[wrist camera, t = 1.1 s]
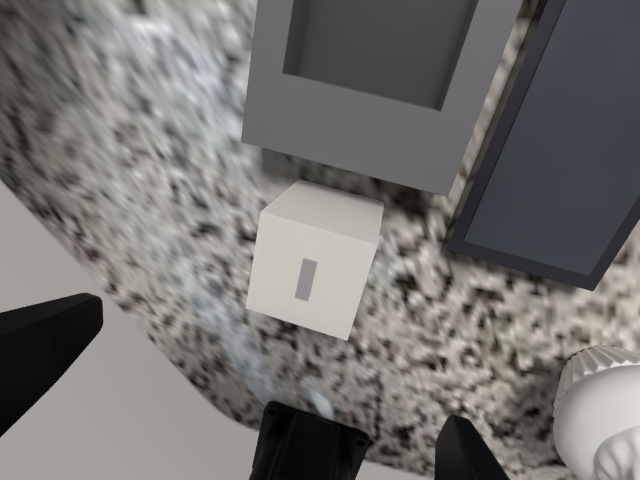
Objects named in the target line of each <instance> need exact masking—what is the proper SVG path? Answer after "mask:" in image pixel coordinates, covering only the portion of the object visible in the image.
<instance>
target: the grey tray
mask: <svg viewBox="0 0 640 480" xmlns="http://www.w3.org/2000/svg"><path fill="white" fill-rule="evenodd" d="M522 2H523V0H258V4H257V12H256V20H255V29H254V37H253V45H252V54H251V62H250V71H249V79H248V87H247V96H246V104H245V112H244V121H243V129H242V137H241V142H243V143H247V144H251V145H254V146H258V147H262V148H266V149H269V150H273V151H277V152H281V153H284V154H288V155H292V156H296V157H299V158H303V159H307V160H311V161H314V162H318V163H322V164H326V165H329V166H333V167H337V168H341V169H344V170H348V171H352V172H356V173H359V174H363V175H367V176H371V177H374V178H378V179H382V180H386V181H389V182H393V183H397V184H401V185H404V186H408V187H412V188H416V189H419V190H423V191H427V192H431V193H434V194H438V195H442V196H446V197H448V194H449V192H450V189H451V187H452V184H453V181H454V179H455V176H456V174H457V171H458V168H459V166H460V163H461V161H462V158H463V155H464V153H465V150H466V148H467V145H468V142H469V140H470V137H471V135H472V132H473V129H474V127H475V124H476V121H477V119H478V116H479V114H480V111H481V108H482V106H483V103H484V101H485V98H486V95H487V93H488V90H489V88H490V85H491V82H492V80H493V77H494V75H495V72H496V69H497V67H498V64H499V62H500V59H501V56H502V54H503V51H504V49H505V46H506V43H507V41H508V38H509V35H510V33H511V30H512V28H513V25H514V22H515V20H516V17H517V15H518V12H519V9H520V7H521V4H522Z"/></svg>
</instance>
